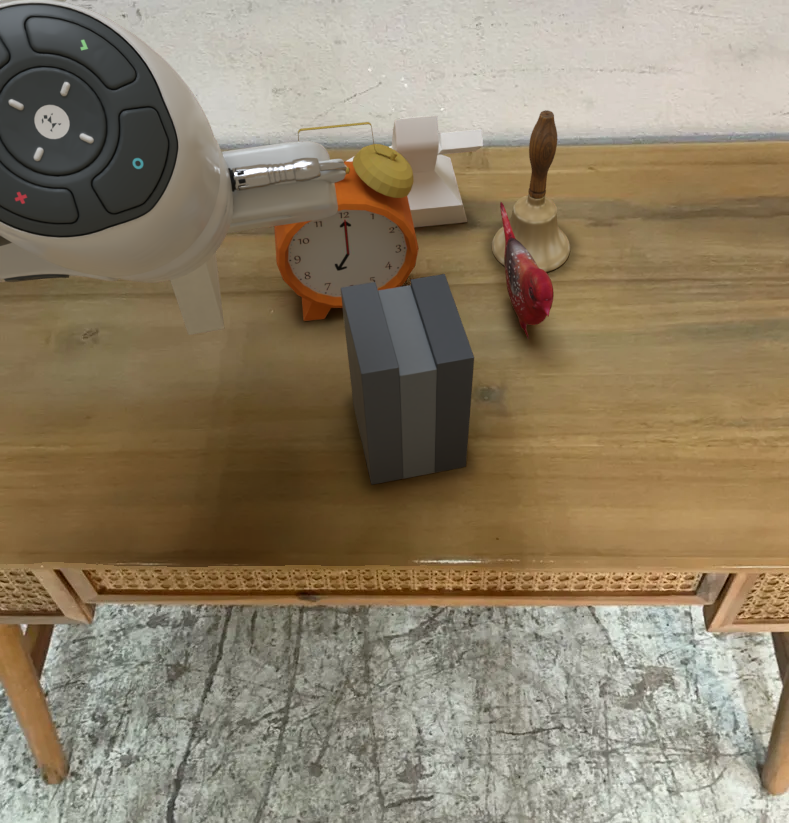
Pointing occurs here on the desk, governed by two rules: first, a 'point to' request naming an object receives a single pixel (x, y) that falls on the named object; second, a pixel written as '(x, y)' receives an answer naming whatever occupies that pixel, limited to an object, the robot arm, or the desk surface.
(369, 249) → the alarm clock
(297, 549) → the desk surface
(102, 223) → the robot arm
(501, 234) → the hand bell
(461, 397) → the grey books
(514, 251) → the decorative bird figurine
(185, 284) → the white book
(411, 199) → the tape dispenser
